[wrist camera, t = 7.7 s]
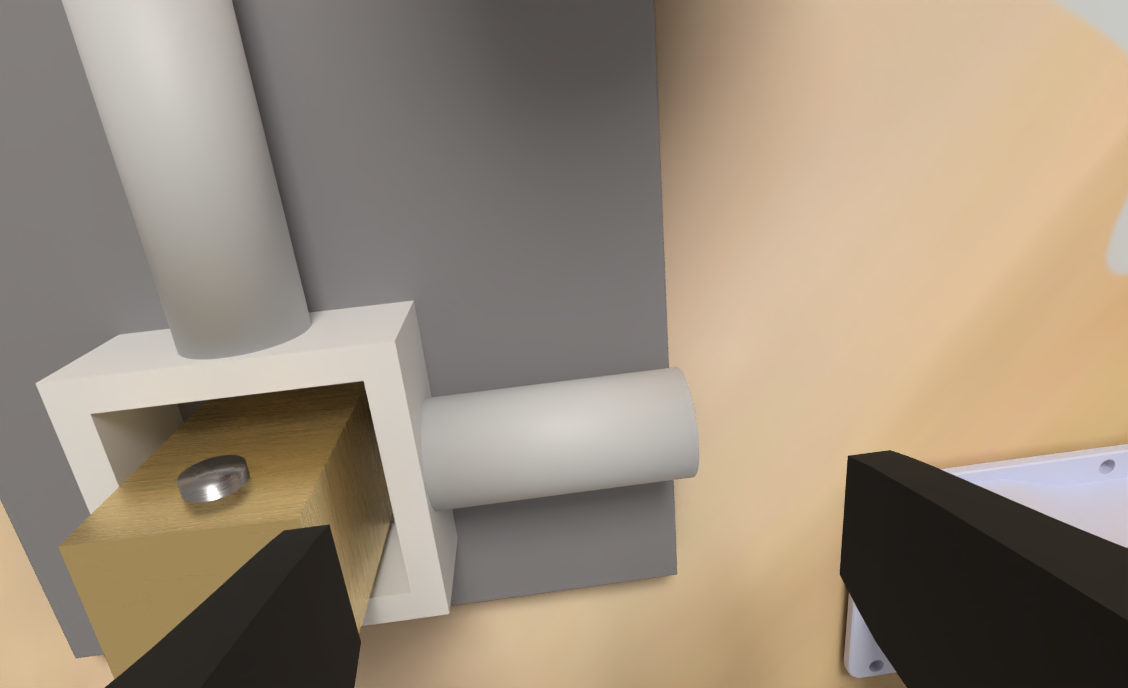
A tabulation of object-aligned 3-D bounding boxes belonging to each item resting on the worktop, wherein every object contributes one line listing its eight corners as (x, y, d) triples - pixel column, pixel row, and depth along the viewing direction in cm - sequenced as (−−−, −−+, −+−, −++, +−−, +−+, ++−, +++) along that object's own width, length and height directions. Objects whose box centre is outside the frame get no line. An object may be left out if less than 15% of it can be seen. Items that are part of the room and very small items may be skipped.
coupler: (365, 370, 17) (294, 503, 11) (394, 519, 18) (346, 702, 13) (206, 387, 16) (51, 531, 11) (251, 536, 18) (136, 730, 12)
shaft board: (639, -103, 14) (687, -178, 11) (669, 553, 21) (706, 651, 17) (-203, -31, 13) (-476, -85, 10) (95, 632, 20) (0, 754, 16)
